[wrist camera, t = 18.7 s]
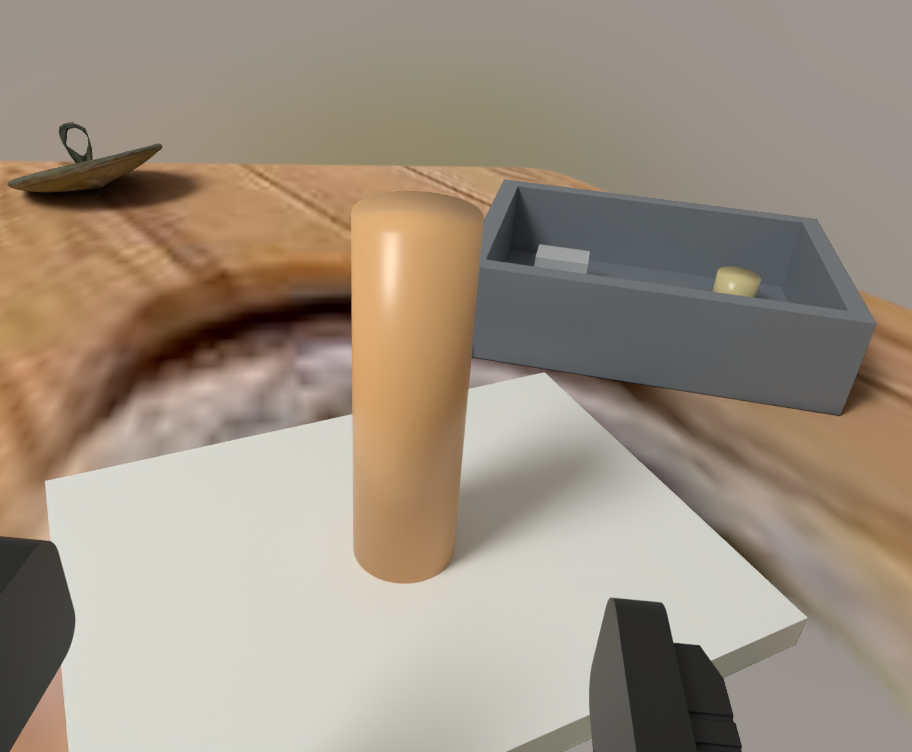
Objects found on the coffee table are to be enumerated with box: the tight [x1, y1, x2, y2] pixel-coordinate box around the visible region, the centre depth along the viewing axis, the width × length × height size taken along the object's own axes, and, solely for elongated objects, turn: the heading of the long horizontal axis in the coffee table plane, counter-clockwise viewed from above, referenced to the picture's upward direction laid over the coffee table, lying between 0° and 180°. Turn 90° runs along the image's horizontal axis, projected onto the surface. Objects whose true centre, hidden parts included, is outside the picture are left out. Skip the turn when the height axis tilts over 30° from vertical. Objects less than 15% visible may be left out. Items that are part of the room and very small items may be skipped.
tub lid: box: [45, 191, 807, 752], centre depth 22 cm, size 20×15×14 cm
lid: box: [8, 122, 162, 192], centre depth 55 cm, size 11×10×5 cm
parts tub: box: [471, 179, 877, 415], centre depth 43 cm, size 19×14×5 cm
